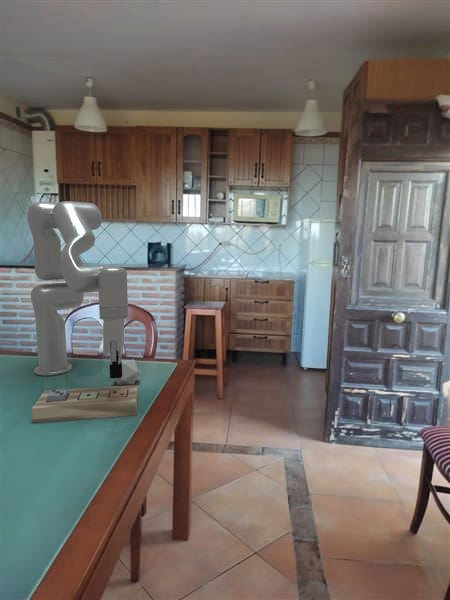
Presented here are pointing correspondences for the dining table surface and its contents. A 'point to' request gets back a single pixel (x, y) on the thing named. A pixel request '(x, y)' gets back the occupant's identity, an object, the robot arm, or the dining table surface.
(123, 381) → the die
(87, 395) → the button one
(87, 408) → the button board
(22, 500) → the dining table surface
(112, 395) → the button two
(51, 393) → the button three
